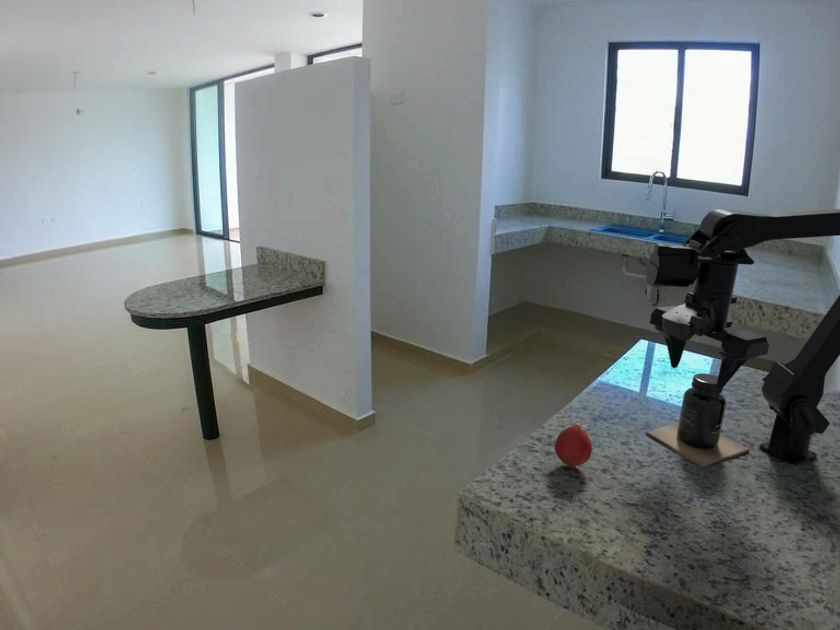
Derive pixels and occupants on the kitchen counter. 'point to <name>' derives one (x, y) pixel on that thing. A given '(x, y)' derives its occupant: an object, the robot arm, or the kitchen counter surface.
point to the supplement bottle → (702, 413)
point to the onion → (573, 446)
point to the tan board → (697, 455)
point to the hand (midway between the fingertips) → (696, 377)
